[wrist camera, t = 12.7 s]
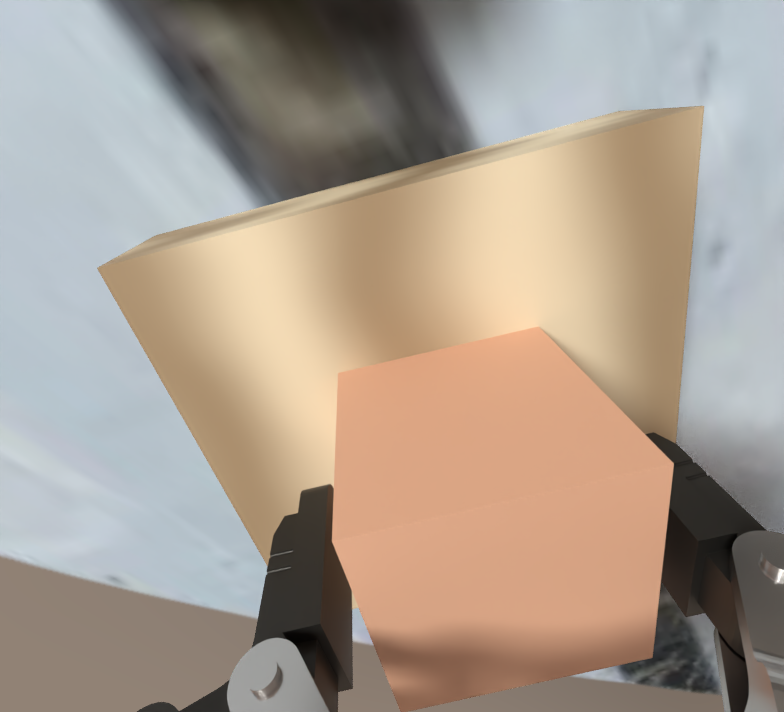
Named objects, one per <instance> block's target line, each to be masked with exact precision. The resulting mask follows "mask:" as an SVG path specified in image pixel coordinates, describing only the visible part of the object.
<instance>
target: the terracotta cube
mask: <svg viewBox="0 0 784 712" xmlns="http://www.w3.org/2000/svg"><path fill="white" fill-rule="evenodd" d="M673 468H674V463H673V462H672V461H671V460H670V459H669V458H668V457H667V456H666V455H665V454H664V453H663V452H662V451H661V450H660V449H659V448H658V447H657V446H656V445H655V444H654V443H653V442H652V441H651V440H650V439H649V438H648V437H647V436H646V435H645V434H644V433H643V432H642V431H641V430H640V429H639V428H638V427H637V426H636V425H635V424H634V423H633V422H632V421H631V420H630V419H629V418H628V417H627V416H626V415H625V414H624V413H623V411H622V410H621V409H620V408H619V407H618V406H617V405H616V404H615V403H614V402H613V401H612V400H611V399H610V398H609V397H608V396H607V395H606V394H605V393H604V392H603V391H602V390H601V389H600V388H599V387H598V386H597V385H596V384H595V383H594V382H593V381H592V380H591V379H590V378H589V377H588V376H587V375H586V374H585V373H584V372H583V371H582V370H581V369H580V368H579V367H578V366H577V365H576V364H575V363H574V362H573V361H572V360H571V359H570V358H569V357H568V356H567V355H566V354H565V353H564V352H563V351H562V350H561V349H560V348H559V347H558V346H557V345H556V344H555V343H554V341H553V340H552V339H551V338H550V337H549V336H548V335H547V334H546V333H545V332H544V331H543V330H542V329H541V328H540V327H539V326H538V327H534V328H529V329H525V330H521V331H516V332H512V333H508V334H503V335H499V336H495V337H490V338H486V339H482V340H478V341H473V342H469V343H465V344H460V345H456V346H452V347H447V348H443V349H439V350H435V351H430V352H426V353H422V354H417V355H413V356H409V357H404V358H400V359H396V360H392V361H387V362H383V363H379V364H374V365H370V366H366V367H362V368H357V369H353V370H349V371H344V372H340V373H338V388H337V415H336V443H335V470H334V498H333V525H332V543H333V545H334V548H335V550H336V553H337V555H338V558H339V560H340V563H341V565H342V568H343V570H344V573H345V575H346V578H347V580H348V582H349V585H350V587H351V590H352V592H353V595H354V597H355V600H356V602H357V605H358V607H359V610H360V612H361V615H362V617H363V620H364V622H365V625H366V627H367V630H368V632H369V634H370V637H371V639H372V642H373V644H374V647H375V649H376V652H377V654H378V657H379V659H380V662H381V664H382V667H383V669H384V671H385V674H386V677H387V679H388V681H389V684H390V686H391V689H392V691H393V694H394V696H395V699H396V701H397V704H398V706H399V709H400V711H401V712H407V711H412V710H417V709H421V708H426V707H430V706H435V705H439V704H444V703H448V702H453V701H457V700H462V699H467V698H471V697H476V696H480V695H485V694H489V693H493V692H499V691H503V690H507V689H512V688H516V687H521V686H526V685H530V684H534V683H539V682H544V681H549V680H553V679H557V678H562V677H567V676H571V675H576V674H580V673H585V672H589V671H594V670H598V669H603V668H608V667H612V666H617V665H621V664H626V663H630V662H635V661H639V660H644V659H648V658H652V657H653V648H654V639H655V630H656V621H657V612H658V603H659V594H660V585H661V576H662V567H663V558H664V549H665V540H666V531H667V522H668V513H669V504H670V495H671V486H672V477H673Z"/></svg>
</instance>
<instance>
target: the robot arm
mask: <svg viewBox="0 0 784 712" xmlns="http://www.w3.org/2000/svg"><path fill="white" fill-rule="evenodd" d="M645 435H646V436H647V437H648V438H649V439H650V440H651V441H652V442H653V443H654V444H655V445H656V446H657V447H658V448H659V449H660V450H661V451H662V452H663V453H664V454H665V455H666V456H667V457H668V458H669V459H670V460H671V461H672V462H673V463H674V468H673V477H672V486H671V495H670V504H669V513H668V522H667V531H666V540H665V549H664V558H663V567H662V576H661V582H662V583H663V584H664V586H665V587H666V589H667V590H668V592H669V593H670V595H671V596H672V597H673V599H674V600H675V602H676V603H677V605H678V606H679V608H680V609H681V610H682V612H683V613H684V615H685V616H686V617H689V616H693V615H698V614H702V613H706V615H707V616H708V617H709V619H710V620H711V622H712V623H713V624H714V626H715V630H714V641H715V648H716V655H717V662H718V669H719V676H720V683H721V690H722V697H723V703H724V710H725V712H784V534H781V533H776V532H772V531H767V530H766V529H764V528H763V527H762V526H761V525H760V524H759V523H758V522H757V521H756V520H755V519H754V518H753V517H752V516H751V515H750V514H749V513H748V512H746V511H745V510H744V509H743V508H742V507H741V506H740V505H739V504H738V503H737V502H736V501H735V500H734V499H733V498H732V497H731V496H730V495H729V494H728V493H727V492H726V491H725V490H724V489H723V488H722V487H720V486H719V485H718V484H717V483H716V482H715V481H714V480H713V479H712V478H711V477H710V476H707V475H706V472H705V471H704V470H703V469H702V468H701V467H700V466H699V465H698V464H697V463H694V462H693V461H692V459H691V458H690V457H689V456H688V455H687V454H686V453H685V452H684V451H683V450H682V449H681V448H680V447H679V446H678V445H677V444H676V443H674V442H672V441H670V440H668V439H666V438H664V437H662V436H660V435H658V434H656V433H654V432H652V433H648V434H645ZM333 498H334V488H333V486H332V485H331V484H327V485H323V486H319V487H314V488H310V489H306V490H302V491H301V494H300V500H299V508H298V513H296V514H291V515H287V516H284V518H283V520H282V521H281V523H280V525H279V526H278V528H277V530H276V531H275V533H274V535H273V540H272V545H271V551H270V558H269V562H268V567H267V575H266V578H265V584H264V589H263V595H262V600H261V605H260V611H259V616H258V622H257V627H256V633H255V638H254V642H253V645H252V648H251V649H250V650H249V651H248V652H247V653H246V654H245V655H244V656H243V657H242V658H241V660H240V661H239V662H238V664H237V666H236V667H235V669H234V671H233V673H232V675H231V678H230V680H229V681H228V682H226V683H225V684H224V685H222V686H221V687H220V688H218V689H217V690H215V691H213V692H211V693H210V694H208V695H206V696H205V697H203V698H201V699H199V700H198V701H196V702H194V703H193V704H191V705H189V706H188V707H186V708H184V709H183V710H181V711H178V710H177V709H176V708H175V707H174V706H173V705H171V704H169V703H165V702H158V703H154V704H151V705H148V706H146V707H144V708H142V709H140V710H139V711H137V712H338V692H340V691H344V690H349V689H352V688H353V683H352V682H353V681H352V680H353V673H352V672H353V671H352V670H353V669H352V590H351V587H350V585H349V582H348V580H347V578H346V575H345V573H344V570H343V568H342V565H341V563H340V560H339V558H338V555H337V553H336V550H335V548H334V545H333V543H332V525H333Z"/></svg>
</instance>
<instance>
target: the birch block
mask: <svg viewBox="0 0 784 712" xmlns="http://www.w3.org/2000/svg"><path fill="white" fill-rule="evenodd" d="M703 113H704V106H695V107H679V108H663V109H647V110H631V111H618V112H614V113H610V114H607V115H603V116H599V117H595V118H592V119H588V120H584V121H580V122H577V123H573V124H569V125H566V126H562V127H558V128H554V129H551V130H547V131H543V132H539V133H536V134H532V135H528V136H525V137H521V138H517V139H513V140H510V141H506V142H502V143H498V144H495V145H491V146H487V147H484V148H480V149H476V150H472V151H469V152H465V153H461V154H458V155H454V156H450V157H446V158H443V159H439V160H435V161H431V162H428V163H424V164H420V165H417V166H413V167H409V168H405V169H402V170H398V171H394V172H390V173H387V174H383V175H379V176H376V177H372V178H368V179H364V180H361V181H357V182H353V183H349V184H346V185H342V186H338V187H335V188H331V189H327V190H323V191H320V192H316V193H312V194H308V195H305V196H301V197H297V198H294V199H290V200H286V201H282V202H279V203H275V204H271V205H267V206H264V207H260V208H256V209H253V210H249V211H245V212H241V213H238V214H234V215H230V216H226V217H223V218H219V219H215V220H212V221H208V222H204V223H200V224H197V225H193V226H189V227H185V228H182V229H178V230H174V231H171V232H167V233H163V234H159V235H156V236H154V237H152V238H150V239H148V240H147V241H145V242H143V243H141V244H139V245H138V246H136V247H134V248H132V249H130V250H129V251H127V252H125V253H123V254H121V255H120V256H118V257H116V258H114V259H112V260H111V261H109V262H107V263H105V264H103V265H102V266H100V267H98V268H97V269H98V271H99V272H100V274H101V276H102V278H103V279H104V281H105V283H106V285H107V286H108V288H109V290H110V292H111V293H112V295H113V297H114V299H115V300H116V302H117V304H118V306H119V307H120V309H121V311H122V313H123V314H124V316H125V318H126V320H127V321H128V323H129V325H130V327H131V328H132V330H133V332H134V333H135V335H136V337H137V339H138V340H139V342H140V344H141V346H142V347H143V349H144V351H145V353H146V354H147V356H148V358H149V360H150V361H151V363H152V365H153V367H154V368H155V370H156V372H157V374H158V375H159V377H160V379H161V381H162V382H163V384H164V386H165V388H166V389H167V391H168V393H169V395H170V396H171V398H172V400H173V402H174V403H175V405H176V407H177V409H178V410H179V412H180V414H181V416H182V417H183V419H184V421H185V423H186V424H187V426H188V428H189V430H190V431H191V433H192V435H193V437H194V438H195V440H196V442H197V444H198V445H199V447H200V449H201V451H202V452H203V454H204V456H205V458H206V459H207V461H208V463H209V465H210V466H211V468H212V470H213V472H214V473H215V475H216V477H217V479H218V480H219V482H220V484H221V486H222V487H223V489H224V491H225V493H226V494H227V496H228V498H229V500H230V501H231V503H232V505H233V507H234V508H235V510H236V512H237V514H238V515H239V517H240V519H241V521H242V522H243V524H244V526H245V528H246V529H247V531H248V533H249V535H250V536H251V538H252V540H253V542H254V543H255V545H256V547H257V549H258V550H259V552H260V554H261V556H262V557H263V559H264V561H265V563H266V564H267V566H268V562H269V558H270V551H271V545H272V540H273V535H274V533H275V531H276V530H277V528H278V526H279V525H280V523H281V521H282V520H283V518H284V516H287V515H291V514H296V513H298V508H299V500H300V494H301V491H302V490H306V489H310V488H314V487H319V486H323V485H327V484H331V485H332V486H333V488H334V470H335V443H336V415H337V388H338V373H340V372H344V371H349V370H353V369H357V368H362V367H366V366H370V365H374V364H379V363H383V362H387V361H392V360H396V359H400V358H404V357H409V356H413V355H417V354H422V353H426V352H430V351H435V350H439V349H443V348H447V347H452V346H456V345H460V344H465V343H469V342H473V341H478V340H482V339H486V338H490V337H495V336H499V335H503V334H508V333H512V332H516V331H521V330H525V329H529V328H534V327H538V326H539V327H540V328H541V329H542V330H543V331H544V332H545V333H546V334H547V335H548V336H549V337H550V338H551V339H552V340H553V341H554V343H555V344H556V345H557V346H558V347H559V348H560V349H561V350H562V351H563V352H564V353H565V354H566V355H567V356H568V357H569V358H570V359H571V360H572V361H573V362H574V363H575V364H576V365H577V366H578V367H579V368H580V369H581V370H582V371H583V372H584V373H585V374H586V375H587V376H588V377H589V378H590V379H591V380H592V381H593V382H594V383H595V384H596V385H597V386H598V387H599V388H600V389H601V390H602V391H603V392H604V393H605V394H606V395H607V396H608V397H609V398H610V399H611V400H612V401H613V402H614V403H615V404H616V405H617V406H618V407H619V408H620V409H621V410H622V411H623V413H624V414H625V415H626V416H627V417H628V418H629V419H630V420H631V421H632V422H633V423H634V424H635V425H636V426H637V427H638V428H639V429H640V430H641V431H642V432H643V433H644V434H648V433H652V432H654V433H656V434H658V435H660V436H662V437H664V438H666V439H668V440H670V441H672V442H674V443H676V434H677V422H678V410H679V398H680V386H681V374H682V363H683V351H684V339H685V327H686V315H687V303H688V291H689V279H690V267H691V255H692V244H693V232H694V220H695V208H696V196H697V184H698V172H699V160H700V148H701V136H702V125H703ZM355 608H359V607H358V605H357V602H356V600H355V597H354V595H353V592H352V609H355Z"/></svg>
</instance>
